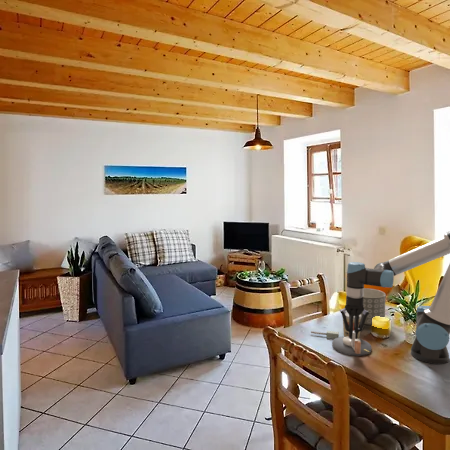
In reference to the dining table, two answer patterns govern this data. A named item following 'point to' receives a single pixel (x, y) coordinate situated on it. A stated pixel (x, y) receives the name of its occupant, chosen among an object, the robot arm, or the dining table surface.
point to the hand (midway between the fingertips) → (352, 345)
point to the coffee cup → (346, 333)
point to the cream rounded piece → (348, 342)
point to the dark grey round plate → (349, 350)
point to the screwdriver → (328, 334)
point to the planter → (373, 304)
